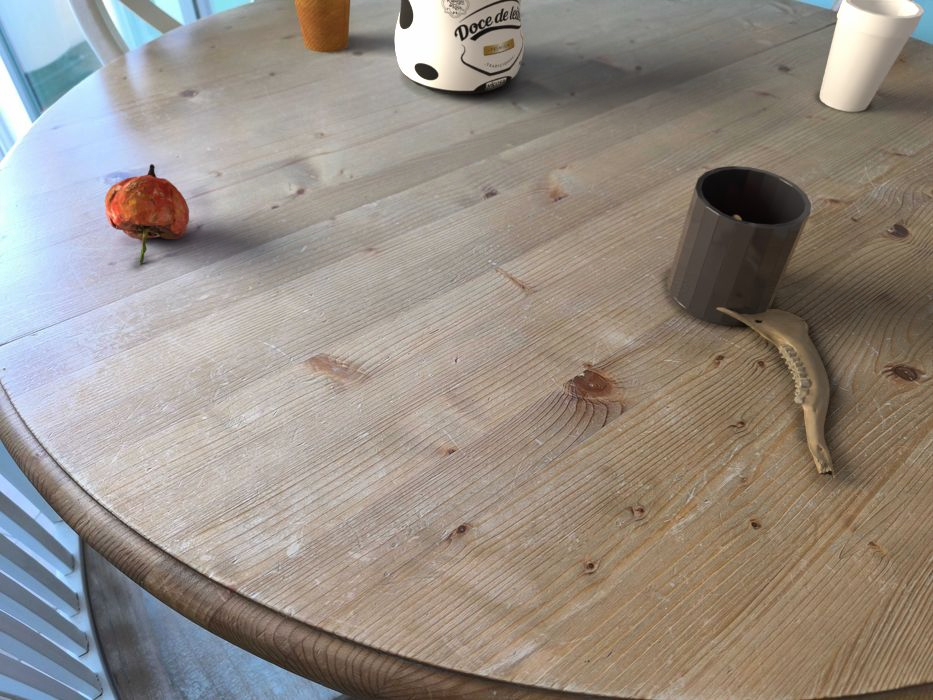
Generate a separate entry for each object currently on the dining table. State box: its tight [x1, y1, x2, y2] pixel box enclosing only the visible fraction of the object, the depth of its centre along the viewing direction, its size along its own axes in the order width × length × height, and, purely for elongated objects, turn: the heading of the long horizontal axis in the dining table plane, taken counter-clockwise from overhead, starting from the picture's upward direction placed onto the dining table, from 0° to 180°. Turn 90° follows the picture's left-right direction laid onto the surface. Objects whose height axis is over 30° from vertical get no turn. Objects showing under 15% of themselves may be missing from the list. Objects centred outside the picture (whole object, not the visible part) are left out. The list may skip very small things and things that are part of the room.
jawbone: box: [716, 308, 835, 480], centre depth 63 cm, size 9×20×2 cm, turn 15°
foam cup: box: [818, 0, 925, 113], centre depth 98 cm, size 10×9×13 cm
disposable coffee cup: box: [294, 0, 351, 53], centre depth 106 cm, size 10×10×12 cm
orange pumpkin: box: [104, 163, 190, 266], centre depth 72 cm, size 7×7×10 cm
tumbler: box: [667, 165, 812, 327], centre depth 68 cm, size 10×10×11 cm
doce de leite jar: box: [394, 0, 525, 95], centre depth 98 cm, size 17×17×18 cm
